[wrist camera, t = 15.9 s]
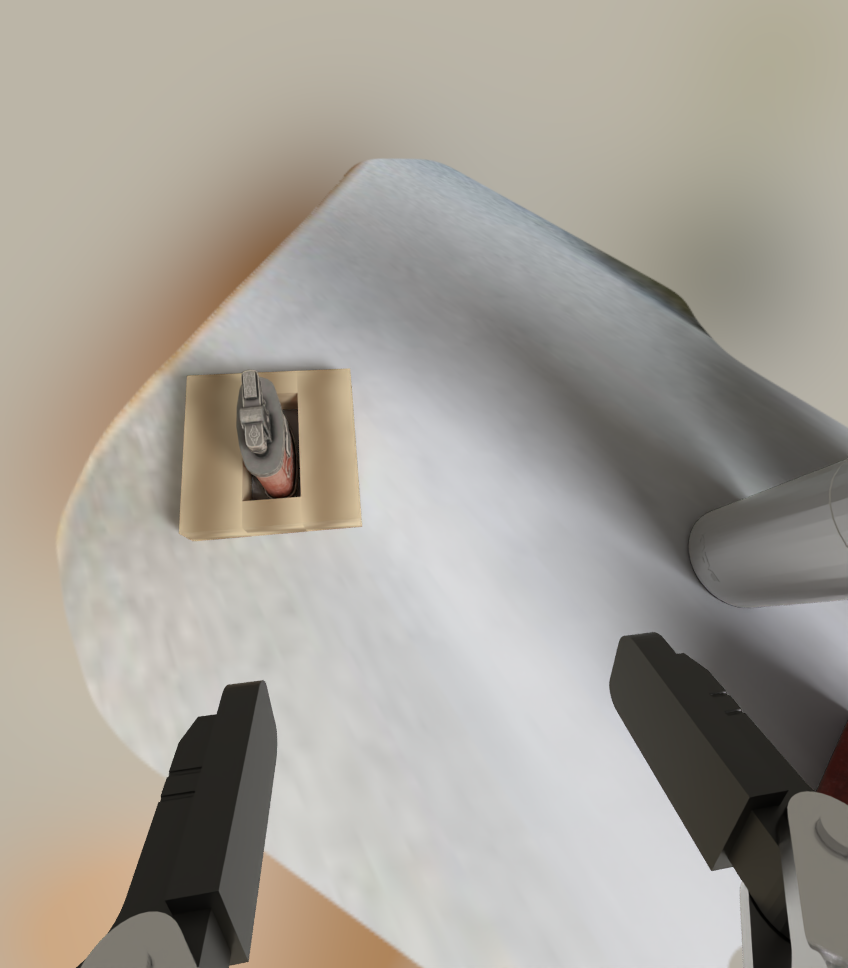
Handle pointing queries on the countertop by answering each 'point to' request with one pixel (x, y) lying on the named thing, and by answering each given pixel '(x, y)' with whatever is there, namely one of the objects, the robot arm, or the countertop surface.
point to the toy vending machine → (837, 771)
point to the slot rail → (228, 484)
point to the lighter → (266, 437)
